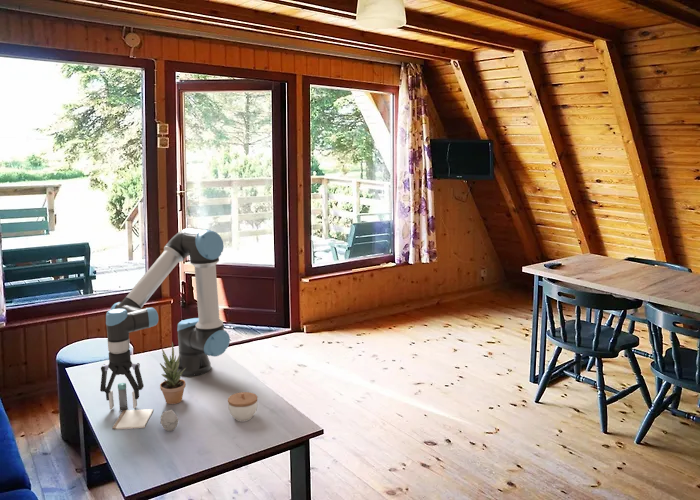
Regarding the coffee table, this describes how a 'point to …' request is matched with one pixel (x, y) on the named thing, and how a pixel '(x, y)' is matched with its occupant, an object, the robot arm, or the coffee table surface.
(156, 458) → the coffee table surface
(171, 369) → the potted plant
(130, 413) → the notepad
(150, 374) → the coffee table surface
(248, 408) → the lidded jar
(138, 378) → the robot arm
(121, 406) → the marker
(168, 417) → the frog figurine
